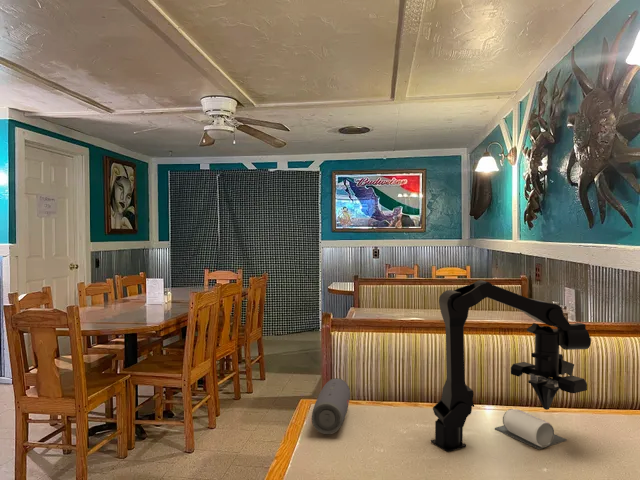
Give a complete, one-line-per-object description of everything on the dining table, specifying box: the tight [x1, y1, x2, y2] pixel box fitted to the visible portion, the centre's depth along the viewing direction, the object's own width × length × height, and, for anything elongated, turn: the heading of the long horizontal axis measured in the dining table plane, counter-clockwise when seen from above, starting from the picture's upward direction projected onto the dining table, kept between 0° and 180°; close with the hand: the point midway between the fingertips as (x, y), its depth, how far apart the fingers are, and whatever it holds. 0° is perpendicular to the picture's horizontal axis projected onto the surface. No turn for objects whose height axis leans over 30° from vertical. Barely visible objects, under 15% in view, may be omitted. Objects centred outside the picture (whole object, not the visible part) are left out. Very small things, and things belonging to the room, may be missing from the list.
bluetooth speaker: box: [311, 378, 351, 435], centre depth 137 cm, size 23×9×10 cm, turn 171°
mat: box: [494, 424, 567, 450], centre depth 129 cm, size 11×14×1 cm
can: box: [502, 408, 555, 448], centre depth 125 cm, size 6×6×12 cm
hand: (546, 409), depth 124 cm, fingers closed
